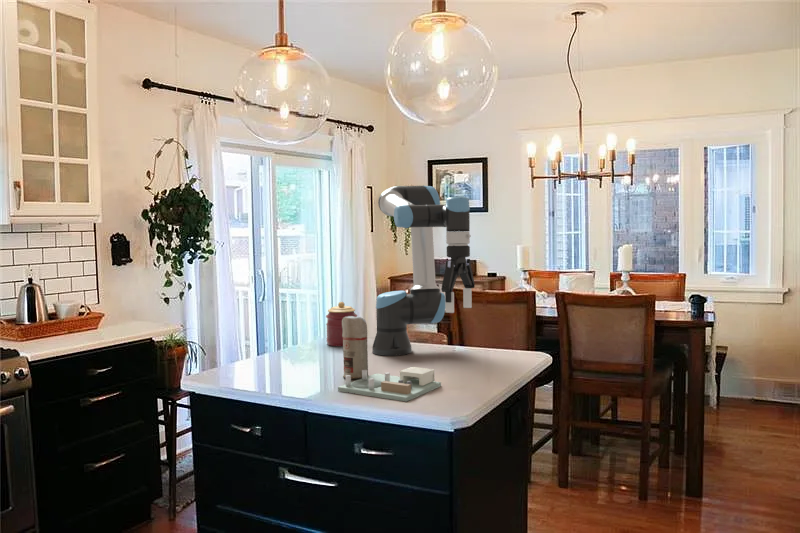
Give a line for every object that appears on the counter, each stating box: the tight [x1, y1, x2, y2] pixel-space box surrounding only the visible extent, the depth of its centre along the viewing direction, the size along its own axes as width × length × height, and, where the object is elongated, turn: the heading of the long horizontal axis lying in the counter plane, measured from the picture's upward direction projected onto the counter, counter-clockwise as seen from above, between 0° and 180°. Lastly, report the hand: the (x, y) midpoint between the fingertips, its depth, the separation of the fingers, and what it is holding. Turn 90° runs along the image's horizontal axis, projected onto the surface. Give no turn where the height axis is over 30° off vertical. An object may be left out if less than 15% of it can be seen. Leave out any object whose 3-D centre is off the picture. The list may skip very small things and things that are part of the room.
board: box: [337, 370, 442, 403], centre depth 198 cm, size 24×20×4 cm
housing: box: [399, 366, 435, 386], centre depth 200 cm, size 8×7×4 cm
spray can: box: [342, 316, 370, 380], centre depth 213 cm, size 8×8×20 cm
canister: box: [325, 301, 358, 347], centre depth 273 cm, size 13×13×18 cm
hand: (458, 310), depth 214 cm, fingers open, 13 cm apart
